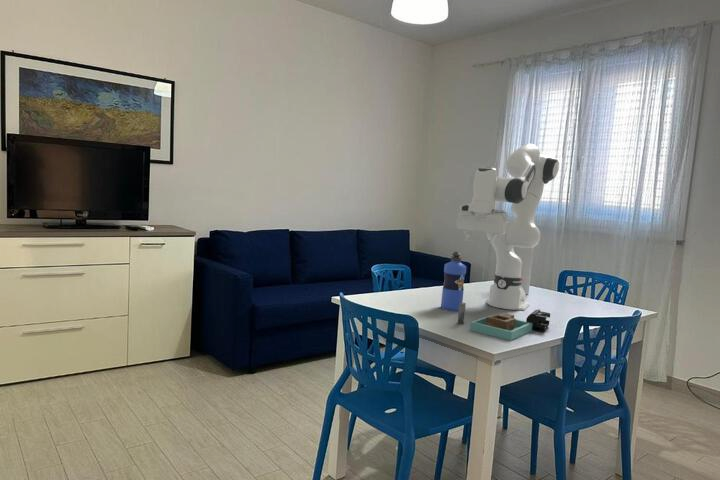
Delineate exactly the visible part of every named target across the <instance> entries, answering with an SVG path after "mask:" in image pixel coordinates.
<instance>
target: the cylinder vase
mask: <svg viewBox="0 0 720 480" xmlns="http://www.w3.org/2000/svg"><path fill="white" fill-rule="evenodd" d="M513 250H514V252H515V254H516V255H517V256H518V257H520V259H521V261H522V267H521V276H520V277H523V281H522V282H521V287H522V288H523V290H524V292H525V296H526V295H529V293H530V284H531V276H532V267H533V257H534V251H535V247H533V248H520V247H514V246H513Z"/></svg>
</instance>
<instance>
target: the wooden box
mask: <svg viewBox="0 0 720 480" xmlns="http://www.w3.org/2000/svg"><path fill="white" fill-rule="evenodd" d="M493 314H494V313H493ZM493 314H490V315H491V316H490V315H487V316H488V317H487V316H485V317H486V325H488V326H492V327H496V328H500V329H504V330H509V331H511V330H514V328H515V319H516V318H515V315H514V314H510V313H505V314H497V313H495V314H494V315H493Z"/></svg>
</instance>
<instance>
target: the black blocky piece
mask: <svg viewBox="0 0 720 480" xmlns="http://www.w3.org/2000/svg"><path fill="white" fill-rule="evenodd" d="M548 318H551V313H550V312H545V311H541V309H540V308H539V309H535V310H533V312H531V313H530V314H529V315H528V316H526V320H525V322H530V323H533V324H532V331H533V332H538V333H546V331H548V329H549V328H550V320H547V319H548Z"/></svg>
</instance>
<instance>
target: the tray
mask: <svg viewBox="0 0 720 480" xmlns="http://www.w3.org/2000/svg"><path fill="white" fill-rule="evenodd" d="M491 315H494V313H493V314H490V315H487V316H484V317H481V318H478V319H476V320H473V321H471V322H470V326H469V327H470V328H469V331H471V332H472V331H473V332H475V333H480V334H483V335H487V336H491V337H494V338H495V337H496V338H500V339H503V340H506V341H507V340H508V341H514V340H516V339H517V338H520V337H522V336H524V335H526V334H528V333H530V332H532V331H533V330H532V324H533V323H530V322H526V320H520V319H516V318H515V328H514V330H511V331H509V330H504V329H500V328H496V327H492V326H488V325H486V317H488V316H491Z"/></svg>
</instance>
